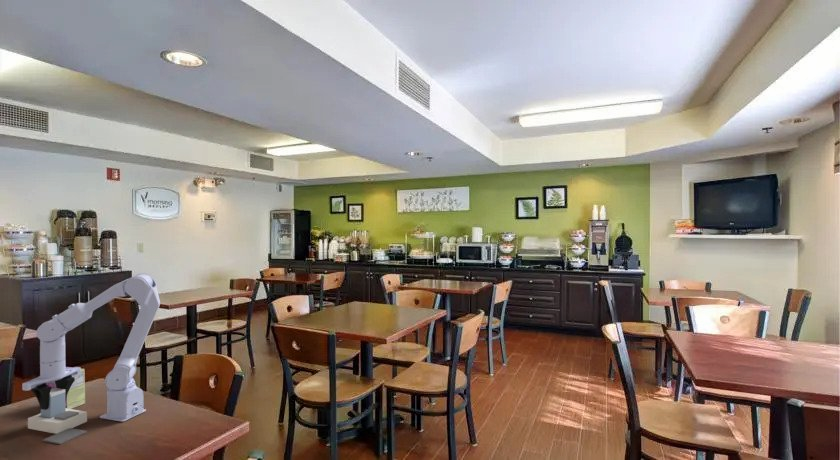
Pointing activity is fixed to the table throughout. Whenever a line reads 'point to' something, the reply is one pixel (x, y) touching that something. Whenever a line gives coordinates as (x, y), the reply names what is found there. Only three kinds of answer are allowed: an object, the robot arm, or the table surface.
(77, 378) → the box
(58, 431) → the frame
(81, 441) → the table surface
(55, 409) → the plug
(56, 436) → the mat
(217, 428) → the table surface
